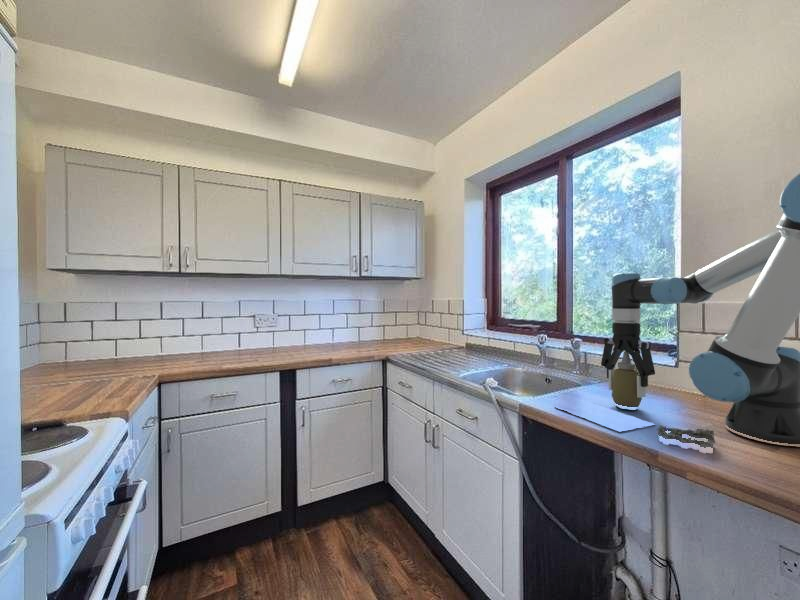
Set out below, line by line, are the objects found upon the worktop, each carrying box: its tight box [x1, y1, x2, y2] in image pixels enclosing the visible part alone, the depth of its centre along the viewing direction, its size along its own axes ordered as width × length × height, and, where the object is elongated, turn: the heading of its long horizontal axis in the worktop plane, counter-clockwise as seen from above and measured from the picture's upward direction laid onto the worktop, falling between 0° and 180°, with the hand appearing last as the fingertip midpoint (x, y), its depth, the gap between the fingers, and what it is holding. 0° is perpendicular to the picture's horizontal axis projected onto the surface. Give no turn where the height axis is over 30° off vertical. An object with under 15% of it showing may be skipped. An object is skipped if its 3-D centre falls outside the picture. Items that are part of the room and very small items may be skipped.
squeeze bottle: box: [611, 351, 643, 408], centre depth 110 cm, size 8×8×18 cm
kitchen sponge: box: [656, 425, 716, 448], centre depth 83 cm, size 11×8×4 cm
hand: (626, 392), depth 110 cm, fingers open, 9 cm apart
